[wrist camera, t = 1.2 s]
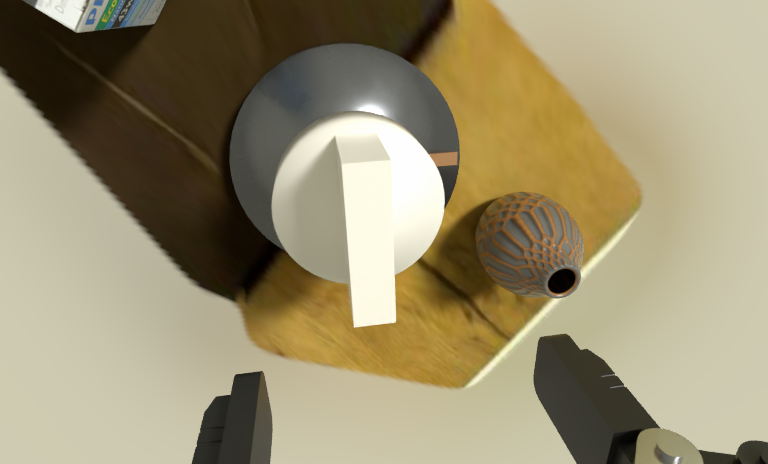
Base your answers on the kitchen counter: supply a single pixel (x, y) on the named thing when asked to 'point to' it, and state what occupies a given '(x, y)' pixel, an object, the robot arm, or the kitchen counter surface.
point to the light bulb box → (100, 13)
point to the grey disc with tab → (328, 96)
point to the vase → (530, 246)
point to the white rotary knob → (357, 206)
